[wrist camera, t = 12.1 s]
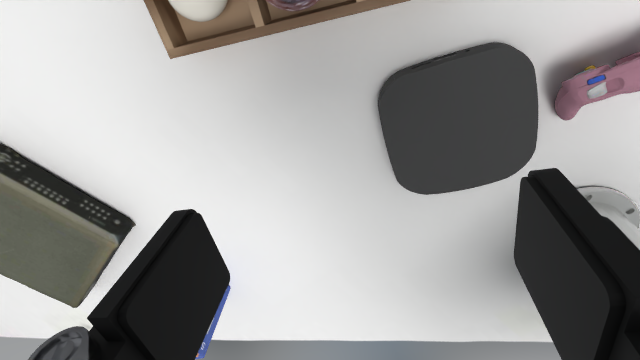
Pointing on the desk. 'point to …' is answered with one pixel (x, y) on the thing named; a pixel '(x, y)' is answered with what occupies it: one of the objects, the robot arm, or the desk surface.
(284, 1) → the supplement bottle
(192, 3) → the egg
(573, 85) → the video game controller
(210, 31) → the holder
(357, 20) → the desk surface
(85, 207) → the network switch
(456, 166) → the media streaming box
